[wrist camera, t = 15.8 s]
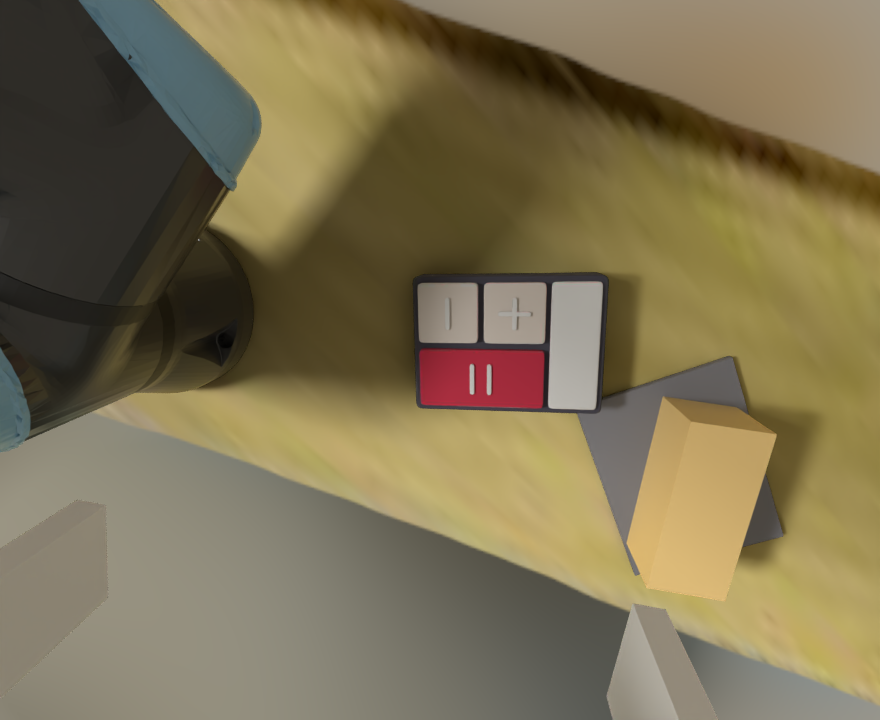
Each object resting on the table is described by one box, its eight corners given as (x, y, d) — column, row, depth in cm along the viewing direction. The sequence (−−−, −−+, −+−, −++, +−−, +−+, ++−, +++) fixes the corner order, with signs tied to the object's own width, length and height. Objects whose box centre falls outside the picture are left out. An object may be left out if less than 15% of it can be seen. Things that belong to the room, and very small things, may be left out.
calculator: (410, 277, 39) (611, 275, 36) (420, 273, 43) (601, 271, 41) (414, 411, 41) (602, 418, 39) (423, 396, 45) (594, 400, 43)
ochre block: (724, 601, 39) (777, 434, 35) (646, 587, 39) (690, 421, 36) (694, 554, 45) (736, 407, 41) (626, 543, 45) (662, 396, 42)
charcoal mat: (574, 407, 43) (575, 409, 43) (728, 355, 41) (732, 357, 40) (633, 571, 46) (635, 575, 46) (779, 532, 44) (783, 536, 43)
